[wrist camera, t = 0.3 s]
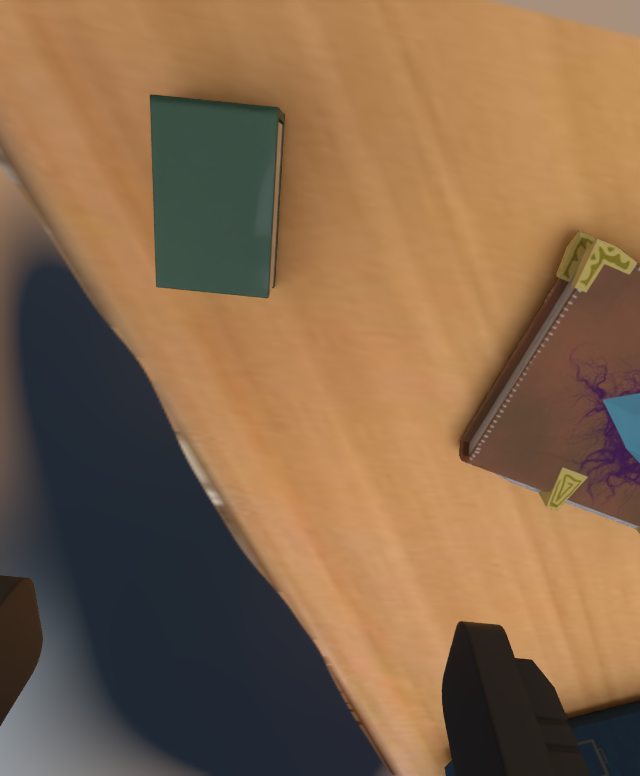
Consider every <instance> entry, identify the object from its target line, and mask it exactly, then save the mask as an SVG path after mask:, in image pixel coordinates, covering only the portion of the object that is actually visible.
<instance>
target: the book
mask: <svg viewBox="0 0 640 776" xmlns="http://www.w3.org/2000/svg"><path fill="white" fill-rule="evenodd" d="M636 264H637V262H636V261H635V260H633V259H632V258H631V257H629V256H628V255H627V254H625V253H624V252H623V251H621V250H620V249H619V248H617V247H616V246H613V245H611V244H609V243H606V242H604V241H602V240H599V239H597V238H594V237H592V236H589V235H587V234H585V233H582V232H580V231H578V233H577V234H576V235H575V237H574V238H573V239H572V241H571V242H570V243H569V245H568V246H567V248H566V251H565V253H564V256H563V258H562V261H561V264H560V266H559V269H558V271H557V274H556V276H557V277H559V278H558V280H557V282H556V283H555V285H554V287H553V288H552V290H551V292H550V293H549V295H548V297H547V298H546V300H545V301H544V303H543V305H542V306H541V308H540V310H539V311H538V313H537V315H536V316H535V318H534V320H533V321H532V323H531V325H530V326H529V328H528V330H527V331H526V333H525V334H524V336H523V338H522V339H521V341H520V343H519V344H518V346H517V348H516V349H515V351H514V353H513V354H512V356H511V358H510V359H509V361H508V363H507V364H506V366H505V367H504V369H503V371H502V372H501V374H500V376H499V377H498V379H497V381H496V382H495V384H494V386H493V387H492V389H491V391H490V392H489V394H488V396H487V397H486V399H485V400H484V402H483V404H482V405H481V407H480V409H479V410H478V412H477V414H476V415H475V417H474V419H473V420H472V422H471V424H470V425H469V427H468V429H467V430H466V432H465V433H464V435H463V437H462V438H461V441H460V448H459V456H460V459H461V460H462V461H464V462H466V463H469V464H472V465H474V466H477V467H480V468H482V469H485V470H488V471H490V472H493V473H495V474H497V475H499V476H500V477H502V478H504V479H506V480H508V481H510V482H512V483H514V484H516V485H519V486H522V487H525V488H527V489H530V490H533V491H535V492H538V493H539V494H540V496H541V498H542V500H543V501H544V503H545V505H546V507H548V508H551V509H554V510H556V511H557V510H558V509H559V508H560V507H561V506H562V505H563V504H564V503H568V504H571V505H573V506H576V507H579V508H581V509H584V510H587V511H589V512H592V513H595V514H598V515H600V516H603V517H606V518H608V519H611V520H614V521H617V522H619V523H622V524H625V525H627V526H630V527H633V528H635V529H637V531H638V532H639V533H640V266H638V265H636Z"/></svg>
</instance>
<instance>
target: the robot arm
mask: <svg viewBox="0 0 640 776" xmlns="http://www.w3.org/2000/svg"><path fill="white" fill-rule="evenodd" d="M42 642H43V636H42V629H41V623H40V618H39V612H38V606H37V600H36V594H35V588H34V584H33V582H32V580H31V579H29V578H22V577H11V576H1V575H0V726H1V724H2V722H3V721H4V719H5V717H6V716H7V714H8V712H9V711H10V709H11V708H12V706H13V704H14V703H15V701H16V699H17V698H18V696H19V695H20V693H21V691H22V690H23V688H24V686H25V685H26V683H27V681H28V680H29V678H30V677H31V675H32V673H33V671H34V669H35V667H36V665H37V663H38V659H39V657H40V653H41V649H42ZM442 705H443V714H444V719H445V725H446V730H447V735H448V740H449V746H450V751H451V756H452V761H453V767H454V772H455V776H591V775H590V773H589V770H588V768H587V765H586V763H585V761H584V758H583V756H582V754H580V753H579V749H578V748H579V746H578V744H577V741H576V739H575V736H574V734H573V732H572V729H571V727H570V726H568V723H567V720H568V719H567V717H566V715H565V712H564V710H563V707H562V705H561V702H560V700H559V698H558V695H557V693H556V690H555V688H554V687H553V685H552V684H551V683H550V682H549V680H548V679H547V678H546V677H545V675H544V674H543V673H542V672H541V670H540V669H539V668H538V667H537V666H536V664H535V663H534V662H533V661H532V660H529V659H519V658H515V657H514V654H513V651H512V649H511V646H510V643H509V640H508V637H507V635H506V632H505V630H504V629H503V627H502V626H500V625H494V624H484V623H474V622H463V621H460V622H459V623H458V624H457V627H456V630H455V634H454V638H453V642H452V645H451V649H450V653H449V657H448V661H447V664H446V668H445V672H444V676H443V683H442Z"/></svg>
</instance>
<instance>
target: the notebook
mask: <svg viewBox="0 0 640 776" xmlns="http://www.w3.org/2000/svg"><path fill="white" fill-rule="evenodd" d="M150 109H151V140H152V171H153V202H154V233H155V264H156V287H161V288H171V289H181V290H191V291H201V292H211V293H221V294H231V295H241V296H251V297H261V298H268V297H269V292H270V290H271V289H272V288H274V287H275V275H276V258H277V241H278V224H279V206H280V189H281V172H282V155H283V138H284V121H285V114H284V113H283V112H282V111H281V110H280V109H279V108H278V107H269V106H259V105H250V104H240V103H230V102H220V101H210V100H200V99H190V98H180V97H170V96H161V95H150Z"/></svg>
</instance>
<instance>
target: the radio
mask: <svg viewBox="0 0 640 776" xmlns="http://www.w3.org/2000/svg"><path fill="white" fill-rule="evenodd" d="M567 723H568V726H570V727H571V729H572V732H573V734H574V736H575V739H576V741H577V744H578V746H579V748H578V749H579V753H580V754H582V756H583V758H584V761H585V763H586V765H587V768H588V770H589V773H590V775H591V776H640V701H637V702H633V703H629V704H626V705H622V706H618V707H614V708H610V709H606V710H602V711H598V712H594V713H590V714H586V715H582V716H579V717H575V718H571V719H568V720H567ZM445 773H446V776H455V772H454V767H453V761H451V762H450V763H449V764H448V765H447V766H446V767H445Z"/></svg>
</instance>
